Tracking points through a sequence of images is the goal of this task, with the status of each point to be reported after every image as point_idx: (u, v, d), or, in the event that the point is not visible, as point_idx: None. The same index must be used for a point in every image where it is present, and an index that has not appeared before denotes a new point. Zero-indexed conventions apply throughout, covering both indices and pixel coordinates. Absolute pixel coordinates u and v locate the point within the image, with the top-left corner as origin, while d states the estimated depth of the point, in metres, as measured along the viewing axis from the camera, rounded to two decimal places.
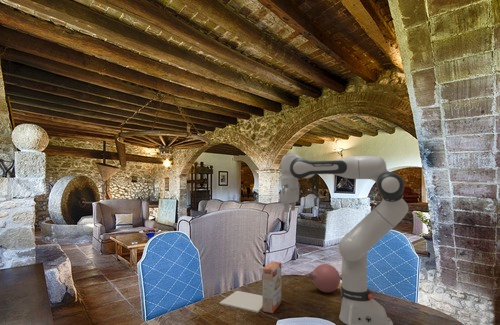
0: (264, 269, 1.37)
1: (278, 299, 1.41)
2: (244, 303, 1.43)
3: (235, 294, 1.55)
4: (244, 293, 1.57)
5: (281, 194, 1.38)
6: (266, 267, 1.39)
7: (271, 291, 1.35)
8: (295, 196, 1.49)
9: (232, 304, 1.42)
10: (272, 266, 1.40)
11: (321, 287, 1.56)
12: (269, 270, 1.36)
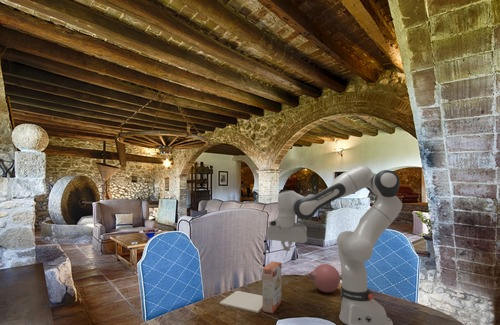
0: (264, 269, 1.37)
1: (278, 299, 1.41)
2: (244, 303, 1.43)
3: (235, 294, 1.55)
4: (244, 293, 1.57)
5: (304, 234, 1.35)
6: (266, 266, 1.39)
7: (271, 291, 1.35)
8: None
9: (232, 304, 1.42)
10: (272, 266, 1.40)
11: (321, 287, 1.56)
12: (269, 270, 1.36)
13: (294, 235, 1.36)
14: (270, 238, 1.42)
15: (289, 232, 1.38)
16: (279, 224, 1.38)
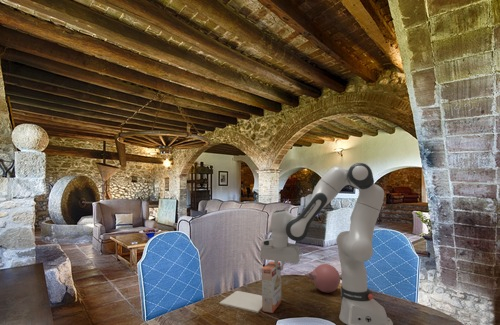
0: (263, 269, 1.37)
1: (278, 299, 1.41)
2: (244, 303, 1.43)
3: (235, 294, 1.55)
4: (244, 293, 1.57)
5: (297, 254, 1.36)
6: (266, 266, 1.40)
7: (271, 291, 1.35)
8: None
9: (232, 304, 1.42)
10: (271, 266, 1.40)
11: (321, 287, 1.56)
12: (268, 270, 1.36)
13: (287, 255, 1.37)
14: (263, 257, 1.43)
15: (282, 252, 1.39)
16: (272, 244, 1.39)
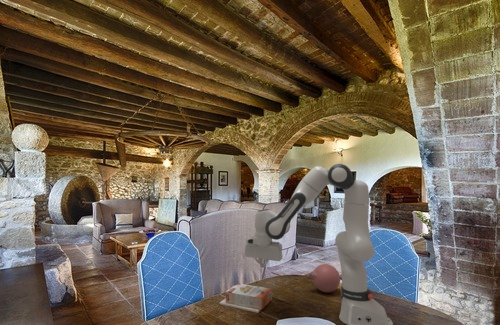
0: (226, 300, 1.44)
1: (261, 290, 1.45)
2: None
3: None
4: None
5: (280, 252, 1.40)
6: None
7: (243, 296, 1.40)
8: None
9: (232, 304, 1.42)
10: None
11: (321, 287, 1.56)
12: (226, 295, 1.44)
13: (270, 253, 1.42)
14: (248, 255, 1.47)
15: (265, 250, 1.43)
16: (256, 242, 1.43)
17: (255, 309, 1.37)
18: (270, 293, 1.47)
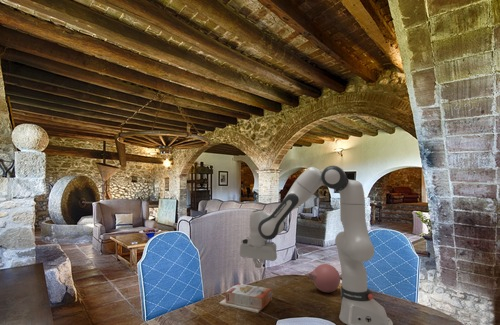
0: (226, 300, 1.44)
1: (261, 290, 1.45)
2: None
3: None
4: None
5: (274, 252, 1.41)
6: None
7: (243, 296, 1.40)
8: None
9: (232, 304, 1.42)
10: None
11: (321, 287, 1.56)
12: (226, 295, 1.44)
13: (264, 253, 1.43)
14: (242, 255, 1.48)
15: (260, 250, 1.44)
16: (250, 242, 1.44)
17: (255, 309, 1.37)
18: (270, 293, 1.47)
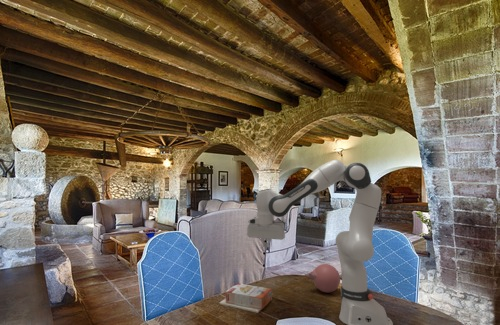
0: (226, 300, 1.44)
1: (261, 290, 1.45)
2: None
3: None
4: None
5: (282, 230, 1.40)
6: None
7: (243, 296, 1.40)
8: None
9: (232, 304, 1.42)
10: None
11: (321, 287, 1.56)
12: (226, 295, 1.44)
13: (272, 232, 1.42)
14: (250, 236, 1.47)
15: (268, 229, 1.43)
16: (258, 222, 1.43)
17: (255, 309, 1.37)
18: (270, 293, 1.47)
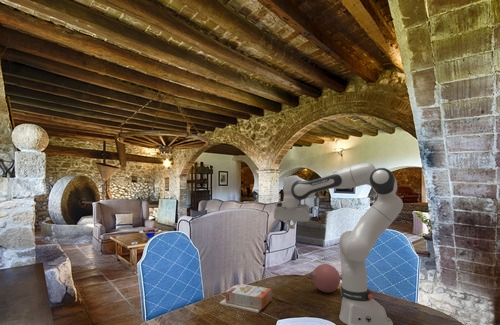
0: (226, 300, 1.44)
1: (261, 290, 1.45)
2: None
3: None
4: None
5: (307, 213, 1.52)
6: None
7: (243, 296, 1.40)
8: None
9: (232, 304, 1.42)
10: None
11: (321, 287, 1.56)
12: (226, 295, 1.44)
13: (298, 214, 1.53)
14: (277, 218, 1.59)
15: (294, 212, 1.55)
16: (285, 205, 1.55)
17: (255, 309, 1.37)
18: (270, 293, 1.47)
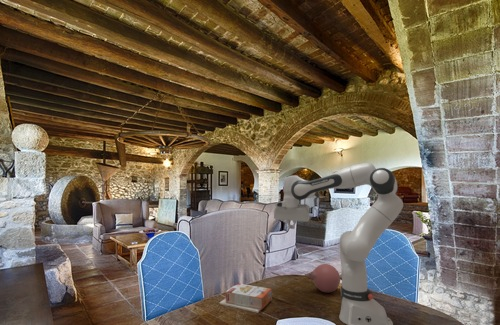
0: (226, 300, 1.44)
1: (261, 290, 1.45)
2: None
3: None
4: None
5: (307, 213, 1.52)
6: None
7: (243, 296, 1.40)
8: None
9: (232, 304, 1.42)
10: None
11: (321, 287, 1.56)
12: (226, 295, 1.44)
13: (298, 214, 1.53)
14: (277, 218, 1.59)
15: (294, 212, 1.55)
16: (285, 205, 1.55)
17: (255, 309, 1.37)
18: (270, 293, 1.47)
